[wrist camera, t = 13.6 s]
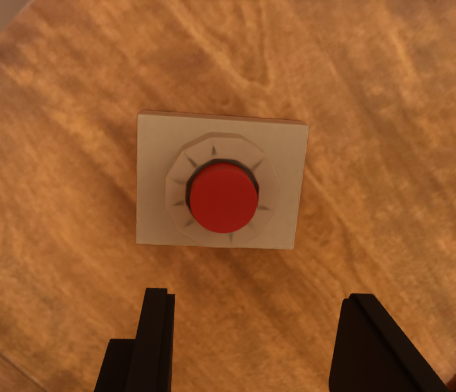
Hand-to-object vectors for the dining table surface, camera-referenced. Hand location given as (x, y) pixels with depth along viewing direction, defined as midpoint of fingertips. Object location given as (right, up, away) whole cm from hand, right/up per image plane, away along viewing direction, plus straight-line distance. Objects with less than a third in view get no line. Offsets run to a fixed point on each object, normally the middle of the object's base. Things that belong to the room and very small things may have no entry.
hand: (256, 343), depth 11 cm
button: (-1, +4, +13) cm, 14 cm away
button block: (-1, +5, +17) cm, 17 cm away
